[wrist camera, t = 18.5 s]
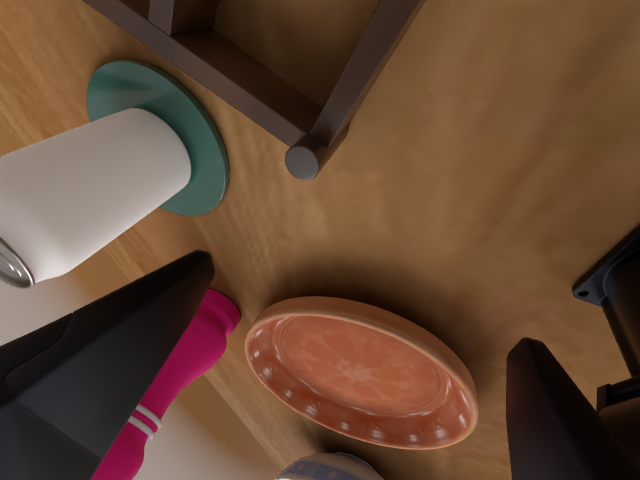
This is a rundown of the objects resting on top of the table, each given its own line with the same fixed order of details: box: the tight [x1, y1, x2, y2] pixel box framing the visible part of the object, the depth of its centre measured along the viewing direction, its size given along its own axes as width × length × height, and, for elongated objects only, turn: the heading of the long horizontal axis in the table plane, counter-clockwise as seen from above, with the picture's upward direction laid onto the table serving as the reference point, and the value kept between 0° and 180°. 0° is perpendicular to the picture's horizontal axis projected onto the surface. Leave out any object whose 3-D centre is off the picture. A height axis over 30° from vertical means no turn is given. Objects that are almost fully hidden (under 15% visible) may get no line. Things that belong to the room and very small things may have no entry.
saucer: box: [244, 296, 479, 450], centre depth 32 cm, size 23×23×4 cm
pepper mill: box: [91, 289, 240, 480], centre depth 29 cm, size 7×7×20 cm
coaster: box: [86, 59, 229, 216], centre depth 24 cm, size 12×12×1 cm
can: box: [0, 108, 191, 289], centre depth 19 cm, size 6×6×12 cm
